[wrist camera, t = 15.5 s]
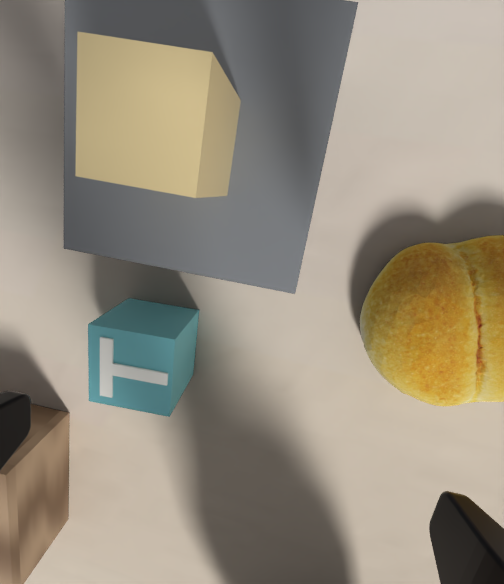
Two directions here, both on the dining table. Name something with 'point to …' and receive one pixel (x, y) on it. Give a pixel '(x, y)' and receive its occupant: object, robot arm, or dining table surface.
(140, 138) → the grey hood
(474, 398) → the bread roll
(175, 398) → the letter cube
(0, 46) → the dining table surface
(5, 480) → the hood walnut
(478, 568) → the robot arm
